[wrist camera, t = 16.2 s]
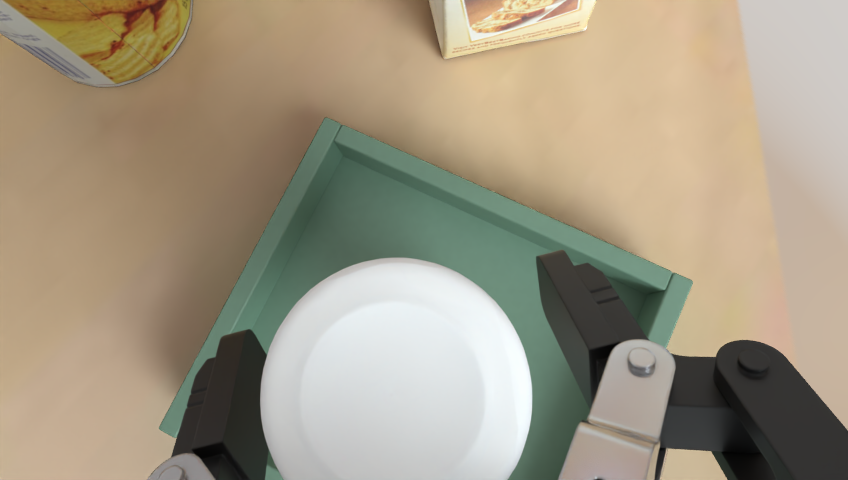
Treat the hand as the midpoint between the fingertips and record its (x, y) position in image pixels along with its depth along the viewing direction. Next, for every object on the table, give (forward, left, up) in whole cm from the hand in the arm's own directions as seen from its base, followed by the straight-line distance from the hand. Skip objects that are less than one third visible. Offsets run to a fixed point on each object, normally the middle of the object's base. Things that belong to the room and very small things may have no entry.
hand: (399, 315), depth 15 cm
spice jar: (+1, -1, -8) cm, 8 cm away
